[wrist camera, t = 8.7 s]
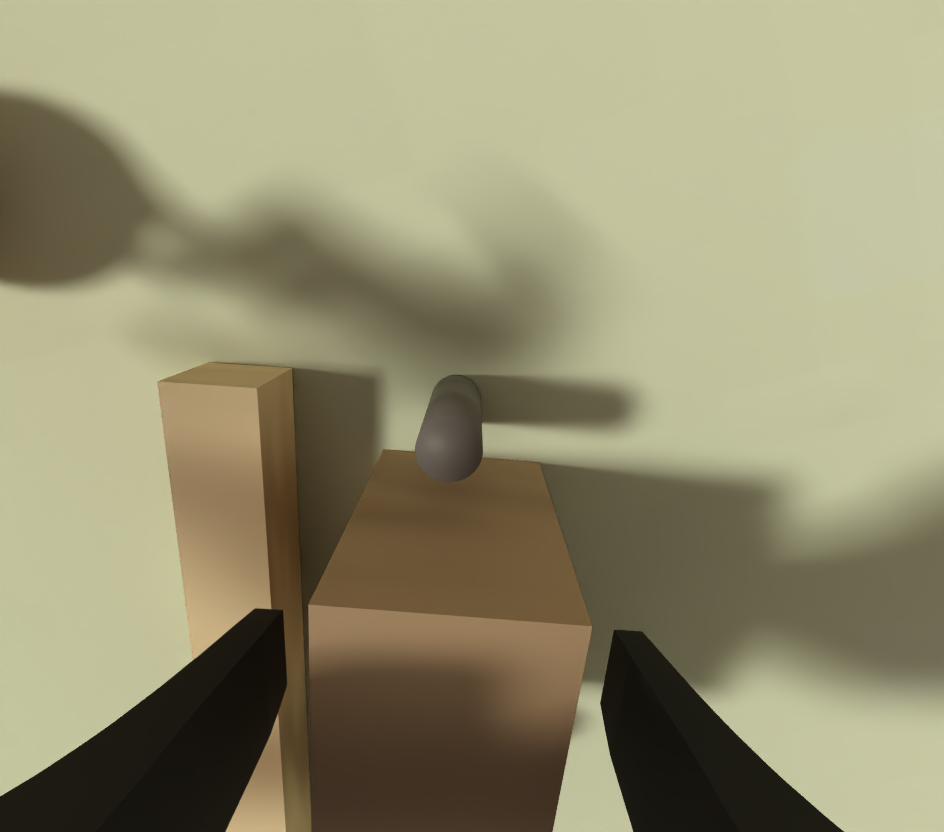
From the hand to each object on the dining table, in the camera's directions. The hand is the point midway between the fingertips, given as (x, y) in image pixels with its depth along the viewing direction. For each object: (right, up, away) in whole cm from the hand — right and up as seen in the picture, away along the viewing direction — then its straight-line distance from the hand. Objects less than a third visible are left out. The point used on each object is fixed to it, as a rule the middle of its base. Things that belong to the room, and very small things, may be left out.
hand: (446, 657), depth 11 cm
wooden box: (0, +1, +3) cm, 3 cm away
